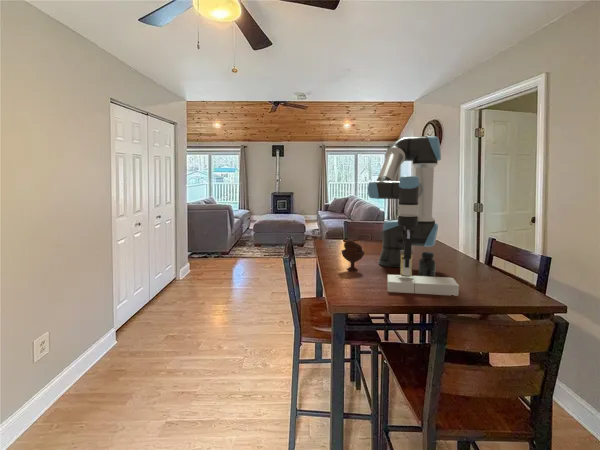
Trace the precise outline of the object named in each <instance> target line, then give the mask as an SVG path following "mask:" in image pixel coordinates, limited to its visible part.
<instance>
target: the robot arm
mask: <svg viewBox="0 0 600 450" xmlns="http://www.w3.org/2000/svg"><path fill="white" fill-rule="evenodd" d="M384 156H385V160H384V162H383V165H382V167H381V169H380V172H379V174H378V177H377V179H376V180H371V181H369V183H367V195H368V198H370V199H377V200H379V199H380V200H398V206H397V207H396V210H398V212H397V214H398V217H397V219H393V220H391V219H390V220H386V221H385V222H383V225H382V226H383V227H382V250H381V252H380V255H379V258H378V265H379V266H383V267H388V268H400V265H401V253H400V250H404V258H403V257H402V259H403V275H407V276H410V263H411V250H412V246H414V247H424V248H425V247H427V248H428V247H430V248H431V247H434V246H435V244H436V240H437V236H438V235H437V234H438V228H439V224H438V223H436V219H435V218H434V217H433V201H434V198H433V197H434V180H435V179H434V175H435V174H434V172H435V167H436V166H438V163H439V162H438V161H441V159H442V153H441V143H440V139H439V137H438V136H436V135H435V136H434V135H425V136H406V137H403V138H400V139H398V140H396V141H395V142H393V143H392V144H391V145H390V146H389V147H388V149H387V150H386V153H385V155H384ZM404 162H412V165H413V167H414V168H415V174H414V175H402V176H400V177H399V180H397V181H396V179H397V176H398V173H399V171H400V168H401V165H403V163H404Z"/></svg>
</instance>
